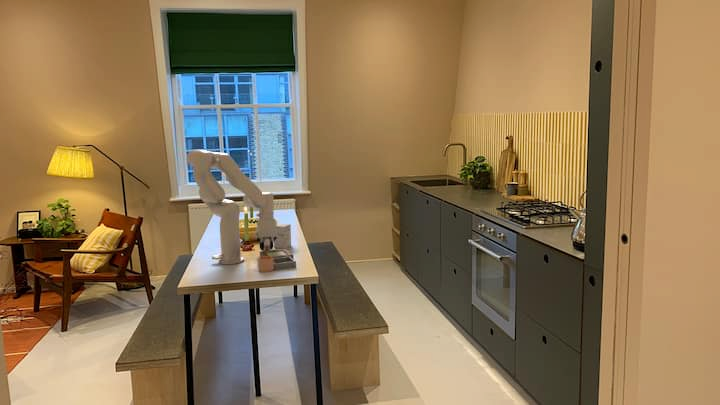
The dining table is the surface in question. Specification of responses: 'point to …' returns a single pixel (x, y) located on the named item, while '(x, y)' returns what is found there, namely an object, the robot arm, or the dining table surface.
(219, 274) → the dining table surface
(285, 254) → the box
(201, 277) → the dining table surface
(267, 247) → the cell
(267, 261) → the orange open cube box
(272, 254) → the pale green square panel
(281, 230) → the supplement box
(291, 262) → the tray
